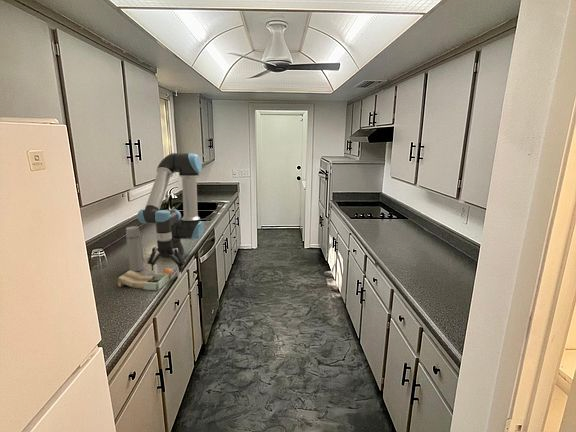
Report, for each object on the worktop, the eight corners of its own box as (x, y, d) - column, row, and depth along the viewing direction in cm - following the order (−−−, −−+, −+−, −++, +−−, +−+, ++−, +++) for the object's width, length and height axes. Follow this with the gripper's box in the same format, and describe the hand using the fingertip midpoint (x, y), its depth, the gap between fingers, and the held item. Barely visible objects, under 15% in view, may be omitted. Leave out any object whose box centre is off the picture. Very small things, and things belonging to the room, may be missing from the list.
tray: (155, 279, 174) (155, 273, 173) (169, 280, 173) (169, 273, 172) (143, 289, 162) (142, 282, 161) (158, 290, 161) (157, 283, 161)
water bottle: (128, 273, 181) (123, 230, 175) (131, 267, 189) (126, 226, 183) (146, 271, 184) (142, 229, 178) (148, 266, 191) (144, 225, 185)
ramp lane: (129, 278, 174) (128, 269, 173) (154, 280, 173) (153, 271, 172) (118, 286, 165) (117, 277, 164) (144, 288, 163) (143, 279, 162)
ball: (165, 274, 180) (164, 266, 179) (174, 275, 179) (173, 266, 178) (161, 278, 175) (160, 269, 174) (169, 278, 174) (169, 270, 173)
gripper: (138, 240, 170) (142, 278, 175) (184, 242, 167) (186, 280, 172) (146, 236, 177) (149, 272, 182) (190, 238, 174) (192, 275, 179)
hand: (167, 276), depth 177 cm, fingers open, 13 cm apart
